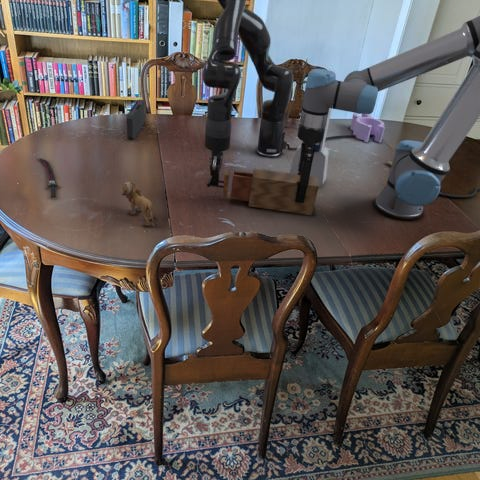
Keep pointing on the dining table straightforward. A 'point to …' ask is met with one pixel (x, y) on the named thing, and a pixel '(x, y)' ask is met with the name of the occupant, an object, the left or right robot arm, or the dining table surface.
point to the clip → (367, 127)
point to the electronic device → (315, 158)
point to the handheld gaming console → (135, 119)
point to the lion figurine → (137, 201)
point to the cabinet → (281, 192)
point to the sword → (52, 181)
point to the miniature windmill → (296, 68)
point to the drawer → (236, 185)
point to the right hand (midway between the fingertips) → (299, 196)
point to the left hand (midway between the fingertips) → (214, 184)
